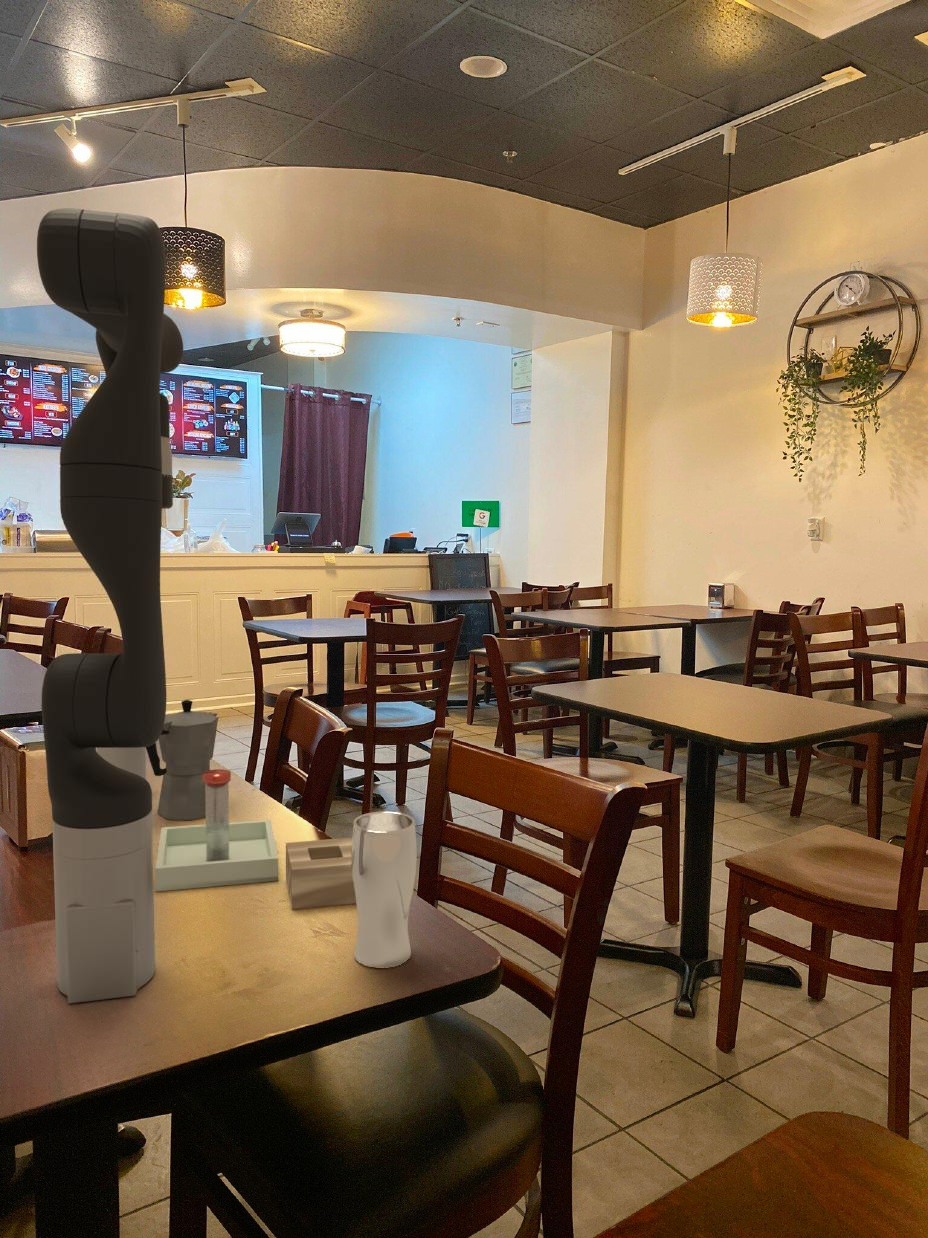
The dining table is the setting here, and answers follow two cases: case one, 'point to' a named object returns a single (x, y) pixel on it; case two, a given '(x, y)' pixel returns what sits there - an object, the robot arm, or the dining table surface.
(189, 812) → the coffeepot
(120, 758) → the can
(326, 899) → the block
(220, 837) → the pin
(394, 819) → the beer glass
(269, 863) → the tray
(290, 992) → the dining table surface
